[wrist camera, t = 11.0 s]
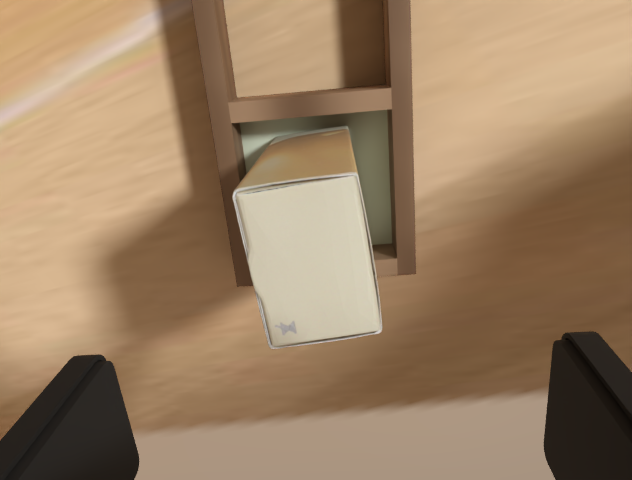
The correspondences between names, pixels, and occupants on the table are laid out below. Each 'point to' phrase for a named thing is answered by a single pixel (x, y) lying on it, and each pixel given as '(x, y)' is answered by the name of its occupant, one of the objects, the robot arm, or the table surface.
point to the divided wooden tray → (318, 113)
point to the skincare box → (309, 240)
